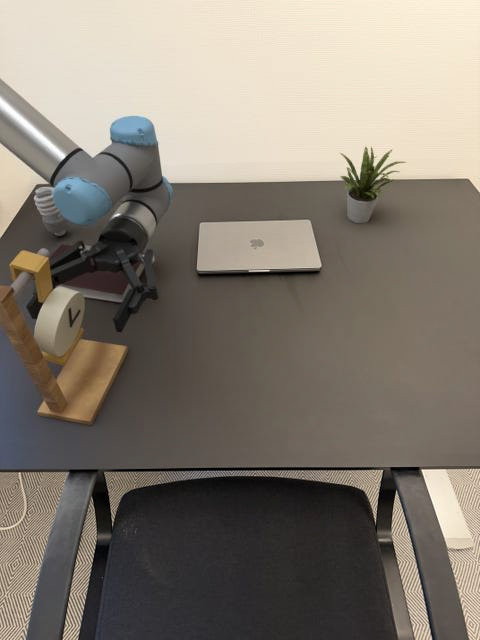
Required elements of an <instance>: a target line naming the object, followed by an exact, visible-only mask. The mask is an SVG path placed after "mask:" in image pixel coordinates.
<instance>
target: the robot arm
mask: <svg viewBox="0 0 480 640" xmlns="http://www.w3.org/2000/svg"><path fill="white" fill-rule="evenodd" d="M109 136H110V137H109V140H110V141H111V143H110V144H109V145H108V146H106V147H105V148H104V149H103V150H102V151H100V152H99V153H97V154H96V155H94V156H91V155H90V154H89V153H88V152H87V151H85V150H84V149H83V148H82V147H80V146H79V145H78V144H77V143H75V141H74V140H72V138H70V137H69V136H68V135H67V134H65V133H64V132H63V131H62V130H61V129H59V127H57V126H56V125H55V124H54V123H53V122H51V121H50V120H49V118H47V117H46V116H45V115H43V114H42V113H41V111H39V110H38V109H36V108H35V107H34V106H33V105H32V104H31V103H30V102H28V101H27V100H26V99H25V98H24V97H23V96H22V95H20V93H18V92H17V91H16V90H14V89H13V88H12V87H11V86H10V85H9V84H8V83H7V82H6V81H4V80H3V79H2V78H0V145H1V146H3V148H5V149H6V150H8V151H9V152H10V153H11V154H13V155H14V156H15V157H16V158H17V159H19V160H20V161H21V162H22V163H24V164H25V165H26V166H27V167H28V168H29V169H31V170H32V171H33V172H34V173H35V174H37V175H38V176H39V177H41V178H42V179H43V180H44V181H46V183H48V184H49V185H50V187H52V188H54V190H53V199H52V200H53V201H54V204H53V205H55V206H56V209H57V208H58V209H59V210H60V211H61V214H62V215H63V216H64V217H65V218H66V219H67V220H68V221H69V223H71V224H74V225H77V226H81V227H87V226H90V225H93V224H94V223H95V222H96V221H97V222H98V220H99V219H101V218H102V217H103V216H105V215H106V214H108V213H110V211H111V210H112V208H113V207H115V205H116V204H118V203H119V202H120V201H121V200H122V199H123V200H122V201H121V203H120V205H119V206H118V207H117V209H116V210H115V212H113V214H112V216H111V217H110V218H109V221H108V222H107V224H106V225H105V226H104V228H103V229H102V230H101V232H100V234H99V236H98V240H97V242H96V243H94V244H92V245H87V244H85V243H84V241H83V240H80V239H79V240H77V241H76V242H74V244H72V245H73V246H72V247H71V248H70V249H68V250H67V251H65V252H63V253H62V254H60V255H58V256H57V257H55V258H53V259H52V260H50V261H49V264H50V272H51V279H52V287H53V289H52V290H51V292H52V291H53V290H54V289H55V288H56V286H58V285H60V284H63V283H65V282H67V281H69V280H72V279H74V278H76V277H78V276H81V275H83V274H85V273H87V272H89V273H93V272H96V271H98V270H99V271H110V272H112V273H117V272H119V271H122V272H123V274H124V276H125V278H127V280H128V282H129V284H130V286H131V287H132V289H129V291H128V292H127V294H126V296H125V298H124V300H123V302H122V303H120V305H119V306H118V309H117V310H116V312H115V315H114V316H113V317H112V322H113V325H114V328H115V331H116V333H120V334H122V333H123V331H124V329H125V327H126V325H127V324H128V321H129V320H130V318H131V315H136V314H138V313H139V311H140V309H141V307H142V305H143V304H144V302H146V300H148V299H150V300H152V301H157V300H158V299H159V294H158V293H159V292H158V288H157V282H156V278H155V272H154V268H155V265H156V258H155V253H154V250H153V249H151V248H149V249H146V250H145V248H146V247H147V244H148V243H149V241H150V240H151V238H152V236H153V234H154V232H156V231H155V230H156V229H157V227H158V225H159V223H160V222H161V220H162V218H163V217H164V216H165V214H166V213H167V212H168V209H169V208H170V205H171V202H172V199H173V197H174V196H173V195H174V193H173V191H174V190H173V186H172V185H171V184H170V182H169V181H168V179H167V178H166V177H165V176H164V175H163V171H162V163H161V156H160V151H159V149H160V148H159V141H158V139H157V134H156V129H155V126H154V123H153V122H152V120H150V119H149V118H147V117H144V116H140V115H126V116H122V117H119V118H116V119H115V120H114V121H112V122H111V124H110V127H109ZM144 250H145V252H144ZM90 258H93V261H94V265H91V262H90ZM138 261H141V264H142V265H144V267H145V270H144V272H145V277H146V281H147V286H144V283H143V282H142V281H141V280H140V279H139V278H138V276H137V274H136V273H135V271H134V269H133V268H132V265H134V264H136V263H137V262H138ZM53 278H54V280H53ZM51 292H50V293H51ZM32 293H33V296H32V297H31V298H30V300H29V301H28V302H27V304H26V305H25V307H26V309H27V311H28V314H29V315H30V317H31V320H37V318H38V315H39V312H40V310H41V308H42V305H43V303H44V302H45V300H46V299H45V300H44V302H43V303H41V302H39V301H38V294H37V288H36V287H35V288H34V289H33V292H32ZM50 293H49V294H50ZM47 297H48V296H47ZM47 297H46V298H47Z"/></svg>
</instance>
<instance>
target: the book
mask: <svg viewBox="0 0 480 640" xmlns="http://www.w3.org/2000/svg"><path fill="white" fill-rule="evenodd" d="M73 245H74V244H66V243H61V244H60V245H59V246H58V247H57V248H56V249H55V250H54V252H53V253H52V254H50V255H49V257H48V258H49V261H50V260H52V259H53V258H55V257H57V256H58V255H60V254H62V253H63V252H65V251H67V250H68V249H70V248H71V247H72V246H73ZM90 262H91V265H94V261H93V258H90ZM132 268H133V269H134V271H135V273H136V274H137V276H138V278H139V280H140V279H141V277H142V275H143V274H144V272H145V267H144V265H142V264H141V261H138V262H137V263H136V264H134V265H132ZM53 280H54V278H53ZM32 281H35V276H33V277H32ZM60 286H61V287H65V288H68V289H71V290H75V291H78V292H81V293H82V294H83V296H84V299H90V300H95V301H101V302H107V303H108V302H109V303H116V304H121V303H122V302H123V300H124V298H125V296H126V294H127V292H128V291H129V289H132V287H131V286H130V284H129V282H128V280H127V278H125V276H124V274H123V272H122V271H119V272H117V273H112V272H110V271H99V270H98V271H96V272H93V273H89V272H87V273H85V274H83V275H81V276H78V277H76V278H74V279H72V280H69V281H67V282H65V283H63V284H60V285H58V286H56V288H57V287H60Z"/></svg>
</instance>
